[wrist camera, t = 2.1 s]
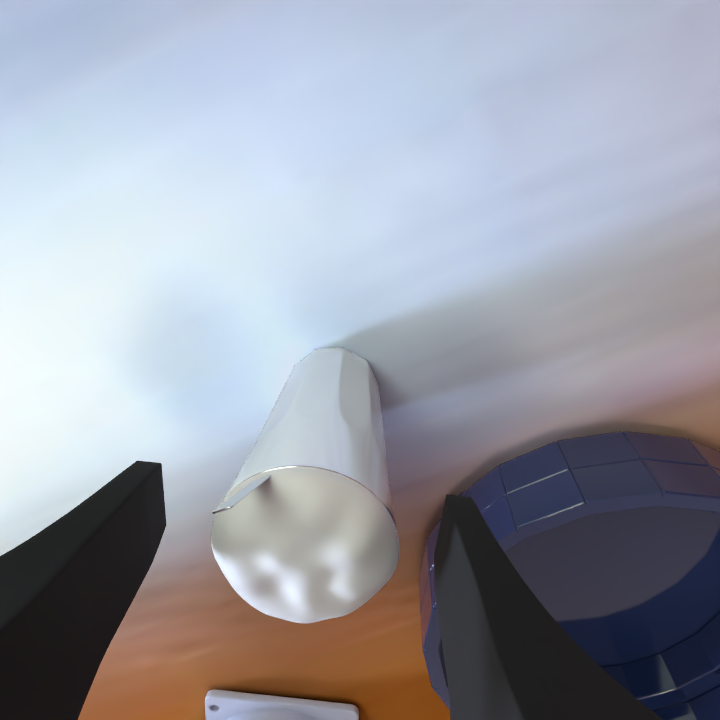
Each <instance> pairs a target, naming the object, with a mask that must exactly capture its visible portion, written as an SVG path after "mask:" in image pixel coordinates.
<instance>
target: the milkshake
mask: <svg viewBox="0 0 720 720" xmlns="http://www.w3.org/2000/svg"><path fill="white" fill-rule="evenodd" d="M212 513H213V514H215V513H216V514H215V517H214V521H213V525H212V532H211V545H212V550H213V554H214V557H215V559H216V561H217V563H218V565H219V567H220V568H221V570H222V572H223V573H224V575H225V577H226V578H227V580H228V582H229V583H230V584H231V586H232V587H233V589H234V590H235V591H236V592H237V593H238V594H239V595H240V596H241V597H242V598H243V599H244V600H245V601H246V602H247V603H248V604H250V605H251V606H252V607H254V608H255V609H257V610H258V611H260V612H262V613H264V614H266V615H269V616H272V617H276V618H280V619H284V620H288V621H291V622H296V623H313V622H317V621H321V620H325V619H330V618H336V617H341V616H345V615H347V614H349V613H351V612H353V611H355V610H356V609H358V608H359V607H361V606H362V605H364V604H365V603H366V602H367V601H369V600H370V599H371V598H372V597H373V596H374V595H375V594H376V593H377V592H379V591H380V590H381V589H382V588H383V587H384V586H385V585H386V583H387V582H388V581H389V580H390V579H391V577H392V576H393V574H394V572H395V570H396V567H397V564H398V559H399V539H398V534H397V529H396V522H395V516H394V510H393V503H392V497H391V490H390V484H389V477H388V470H387V461H386V451H385V441H384V432H383V423H382V414H381V404H380V395H379V387H378V383H377V381H376V379H375V377H374V374H373V372H372V370H371V368H370V365H369V363H368V361H367V360H365V359H363V358H361V357H359V356H358V355H356V354H354V353H352V352H351V351H349V350H347V349H346V348H344V347H340V348H321V349H315V350H313V351H312V352H311V353H309V354H308V355H307V356H306V357H304V358H303V359H302V360H300V361H299V362H298V363H297V364H295V365H294V367H293V369H292V371H291V373H290V375H289V377H288V379H287V381H286V383H285V385H284V387H283V389H282V391H281V393H280V395H279V397H278V399H277V401H276V402H275V404H274V406H273V408H272V410H271V412H270V414H269V416H268V418H267V420H266V422H265V424H264V426H263V428H262V430H261V432H260V434H259V436H258V438H257V440H256V442H255V444H254V446H253V448H252V449H251V451H250V453H249V455H248V457H247V458H246V460H245V462H244V464H243V466H242V467H241V469H240V471H239V473H238V474H237V476H236V478H235V480H234V481H233V483H232V485H231V487H230V489H229V490H228V492H227V494H226V496H225V497H224V499H223V501H222V503H221V504H220V506H219V507H218V508H217V509H215V510H214V511H213V512H212Z"/></svg>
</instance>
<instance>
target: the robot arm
mask: <svg viewBox="0 0 720 720" xmlns="http://www.w3.org/2000/svg"><path fill="white" fill-rule="evenodd" d="M165 527H166V516H165V503H164V491H163V478H162V465H161V463H154V462H144V461H136V462H135V463H134V464H132V465H131V466H130V467H128V468H127V469H126V470H124V471H123V472H122V473H120V474H119V475H118V476H116V477H115V478H114V479H113V480H111V481H110V482H109V483H107V484H106V485H105V486H103V487H102V488H101V489H100V490H98V491H97V492H96V493H94V494H93V495H92V496H90V497H89V498H88V499H86V500H85V501H84V502H82V503H81V504H80V505H78V506H77V507H76V508H74V509H73V510H71V511H70V512H69V513H67V514H66V515H64V516H63V517H61V518H60V519H59V520H57V521H56V522H54V523H53V524H51V525H50V526H48V527H47V528H45V529H44V530H42V531H41V532H39V533H38V534H36V535H35V536H33V537H32V538H30V539H29V540H27V541H25V542H24V543H22V544H21V545H19V546H17V547H16V548H14V549H12V550H11V551H9V552H7V553H5V554H4V555H2V556H0V720H78V717H79V715H80V712H81V709H82V707H83V704H84V702H85V699H86V697H87V694H88V692H89V690H90V687H91V685H92V682H93V680H94V677H95V675H96V673H97V670H98V668H99V665H100V663H101V661H102V659H103V657H104V655H105V652H106V650H107V648H108V646H109V644H110V642H111V640H112V638H113V637H114V635H115V633H116V631H117V629H118V627H119V625H120V623H121V621H122V620H123V618H124V616H125V614H126V612H127V610H128V608H129V606H130V604H131V603H132V601H133V599H134V597H135V595H136V593H137V591H138V589H139V587H140V585H141V584H142V582H143V580H144V578H145V576H146V574H147V572H148V570H149V568H150V566H151V564H152V562H153V559H154V557H155V554H156V552H157V549H158V547H159V544H160V541H161V538H162V535H163V533H164V530H165ZM434 583H435V598H436V605H437V612H438V619H439V626H440V633H441V640H442V647H443V653H444V660H445V667H446V674H447V681H448V690H449V699H450V716H451V720H663V719H662V718H661V717H659V716H658V715H657V714H655V713H654V712H653V711H651V710H650V709H649V708H648V707H646V706H645V705H644V704H642V703H641V702H640V701H639V700H637V699H636V698H635V697H634V696H633V695H632V694H630V693H629V692H628V691H627V690H626V689H625V688H624V687H622V686H621V685H620V684H619V683H618V682H617V681H615V680H614V679H613V678H612V677H611V676H610V675H609V674H608V673H607V672H605V671H604V670H603V669H602V668H601V667H600V666H599V665H598V664H597V663H596V662H595V661H594V660H593V659H592V658H591V657H590V656H589V655H588V654H587V653H586V652H585V651H584V650H583V649H582V648H581V647H580V646H579V645H578V644H577V643H576V642H575V641H574V640H573V639H572V638H571V637H570V636H569V635H568V634H567V633H566V632H565V631H564V630H563V629H562V627H561V626H560V625H559V624H558V623H557V622H556V621H555V619H554V618H553V617H552V616H551V615H550V614H549V612H548V611H547V610H546V609H545V608H544V606H543V605H542V604H541V603H540V601H539V600H538V599H537V598H536V596H535V595H534V594H533V592H532V591H531V590H530V588H529V587H528V586H527V584H526V583H525V582H524V580H523V579H522V578H521V576H520V575H519V573H518V572H517V570H516V569H515V568H514V566H513V565H512V563H511V562H510V560H509V559H508V557H507V555H506V554H505V552H504V551H503V549H502V548H501V546H500V545H499V543H498V542H497V540H496V538H495V537H494V535H493V533H492V532H491V530H490V528H489V527H488V525H487V523H486V522H485V520H484V518H483V516H482V515H481V513H480V511H479V509H478V507H477V505H476V504H475V502H474V500H473V499H472V498H471V497H466V496H456V495H446V500H445V504H444V509H443V514H442V518H441V523H440V528H439V532H438V537H437V542H436V546H435V551H434ZM205 713H206V720H358V719H359V709H358V708H357V707H356V706H355V705H352V704H346V703H336V702H327V701H318V700H309V699H299V698H290V697H281V696H272V695H263V694H253V693H244V692H235V691H226V690H217V689H215V690H210V691H208V692H207V695H206V698H205Z"/></svg>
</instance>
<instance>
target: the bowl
mask: <svg viewBox="0 0 720 720" xmlns="http://www.w3.org/2000/svg"><path fill="white" fill-rule="evenodd" d="M459 496H466V497H471V498H472V499H473V500H474V502H475V504H476V505H477V507H478V509H479V511H480V513H481V515H482V516H483V518H484V520H485V522H486V523H487V525H488V527H489V528H490V530H491V532H492V533H493V535H494V537H495V538H496V540H497V542H498V543H499V545H500V546H501V548H502V549H503V551H504V552H505V554H506V555H507V557H508V559H509V560H510V562H511V563H512V565H513V566H514V568H515V569H516V570H517V572H518V573H519V575H520V576H521V578H522V579H523V580H524V582H525V583H526V584H527V586H528V587H529V588H530V590H531V591H532V592H533V594H534V595H535V596H536V598H537V599H538V600H539V601H540V603H541V604H542V605H543V606H544V608H545V609H546V610H547V611H548V612H549V614H550V615H551V616H552V617H553V618H554V619H555V621H556V622H557V623H558V624H559V625H560V626H561V627H562V629H563V630H564V631H565V632H566V633H567V634H568V635H569V636H570V637H571V638H572V639H573V640H574V641H575V642H576V643H577V644H578V645H579V646H580V647H581V648H582V649H583V650H584V651H585V652H586V653H587V654H588V655H589V656H590V657H591V658H592V659H593V660H594V661H595V662H596V663H597V664H598V665H599V666H600V667H601V668H602V669H603V670H604V671H605V672H607V673H608V674H609V675H610V676H611V677H612V678H613V679H614V680H615V681H617V682H618V683H619V684H620V685H621V686H622V687H624V688H625V689H626V690H627V691H628V692H629V693H630V694H632V695H633V696H634V697H635V698H636V699H637V700H639V701H640V702H641V703H642V704H644V705H645V706H646V707H648V708H649V709H650V710H651V711H653V712H654V713H655V714H657V715H658V716H659V717H661V718H662V719H663V720H720V452H718V451H715V450H713V449H711V448H708V447H706V446H704V445H701V444H699V443H697V442H694V441H692V440H690V439H686V438H681V437H672V436H663V435H654V434H644V433H635V432H626V431H624V432H621V431H620V432H613V433H606V434H599V435H593V436H586V437H579V438H572V439H566V440H559V441H557V442H553V443H550V444H548V445H546V446H543V447H541V448H538V449H536V450H534V451H531V452H529V453H526V454H524V455H522V456H519V457H517V458H514V459H512V460H509V461H507V462H505V463H502V464H500V465H499V466H497V467H495V468H494V469H493V470H492V471H490V472H489V473H488V474H486V475H485V476H484V477H483V478H481V479H480V480H479V481H477V482H476V483H475V484H474V485H472V486H471V487H470V488H468V489H467V490H466V491H465V492H463V493H462V494H461V495H459ZM440 523H441V519H440V521H439V522H438V524H437V525H436V527H435V528H434V530H433V531H432V533H431V534H430V535H429V537H428V538H427V541H426V546H425V551H424V556H423V561H422V566H421V571H420V575H419V595H420V612H421V630H422V647H423V654H424V658H425V662H426V665H427V669H428V673H429V677H430V681H431V685H432V688H433V690H434V691H435V692H436V693H437V695H438V696H439V697H440V698H441V700H442V701H443V702H444V703H445V705H446V706H447V707H448V708H449V710H450V699H449V690H448V681H447V674H446V667H445V660H444V653H443V647H442V640H441V633H440V626H439V619H438V612H437V605H436V598H435V583H434V551H435V546H436V542H437V537H438V532H439V528H440Z"/></svg>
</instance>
